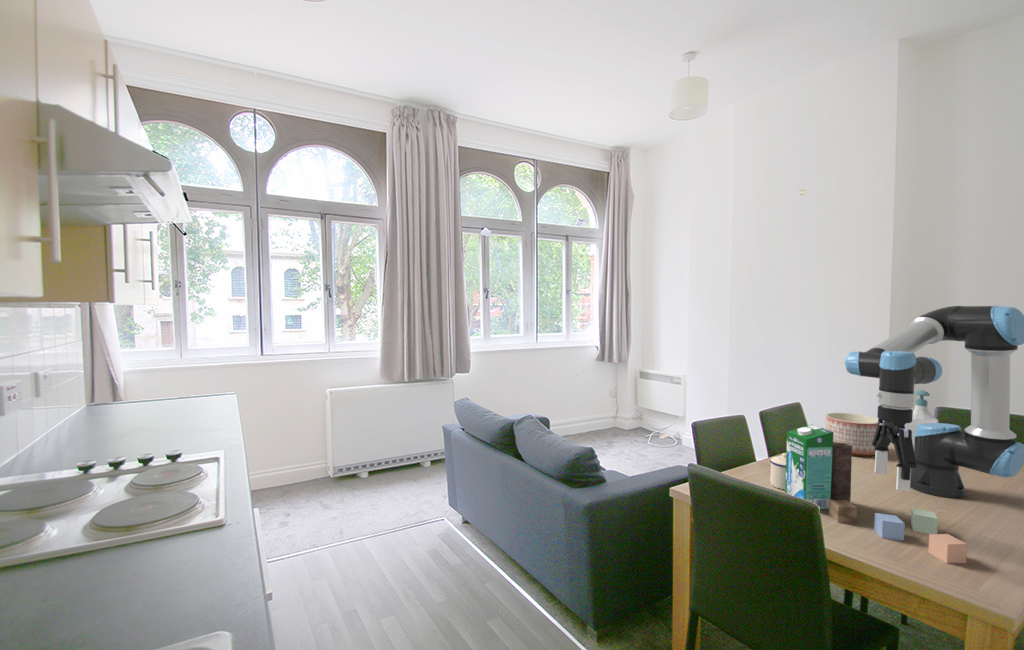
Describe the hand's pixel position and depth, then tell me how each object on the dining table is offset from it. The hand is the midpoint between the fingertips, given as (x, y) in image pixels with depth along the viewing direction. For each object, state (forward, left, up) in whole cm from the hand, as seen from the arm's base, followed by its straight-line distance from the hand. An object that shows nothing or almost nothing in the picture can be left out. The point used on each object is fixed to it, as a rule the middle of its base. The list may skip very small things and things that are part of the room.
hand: (891, 481), depth 129 cm
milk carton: (+16, -16, -16) cm, 27 cm away
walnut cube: (+9, -7, -15) cm, 19 cm away
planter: (-18, -84, -16) cm, 87 cm away
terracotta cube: (-9, +9, -15) cm, 20 cm away
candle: (+7, -19, -16) cm, 25 cm away
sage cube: (-11, -7, -15) cm, 20 cm away
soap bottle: (-46, -92, -16) cm, 104 cm away
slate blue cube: (0, 0, -15) cm, 15 cm away
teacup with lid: (+19, -31, -16) cm, 39 cm away
